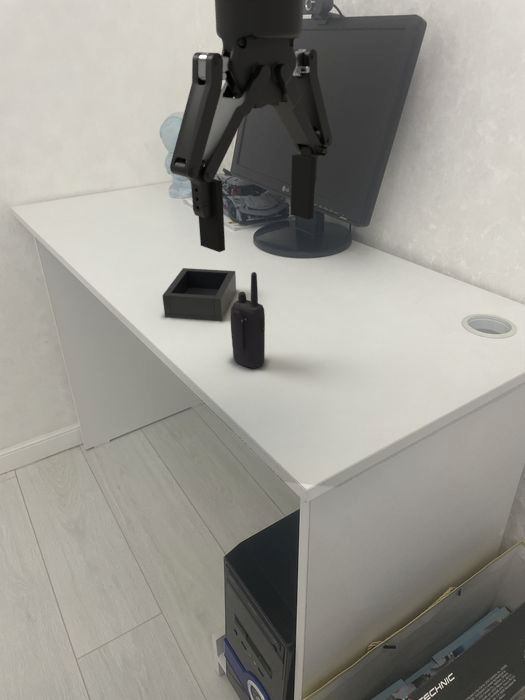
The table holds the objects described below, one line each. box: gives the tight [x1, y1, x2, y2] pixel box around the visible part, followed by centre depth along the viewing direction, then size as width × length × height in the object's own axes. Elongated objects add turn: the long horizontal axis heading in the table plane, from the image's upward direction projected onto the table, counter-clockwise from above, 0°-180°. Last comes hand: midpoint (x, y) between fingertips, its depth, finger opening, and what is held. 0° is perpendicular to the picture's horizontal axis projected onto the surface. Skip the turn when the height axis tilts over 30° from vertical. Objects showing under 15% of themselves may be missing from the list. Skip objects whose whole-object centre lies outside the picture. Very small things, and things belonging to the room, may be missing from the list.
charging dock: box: [161, 267, 237, 322], centre depth 95 cm, size 10×12×4 cm
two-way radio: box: [230, 271, 266, 369], centre depth 75 cm, size 6×4×15 cm
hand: (260, 231), depth 54 cm, fingers open, 13 cm apart
